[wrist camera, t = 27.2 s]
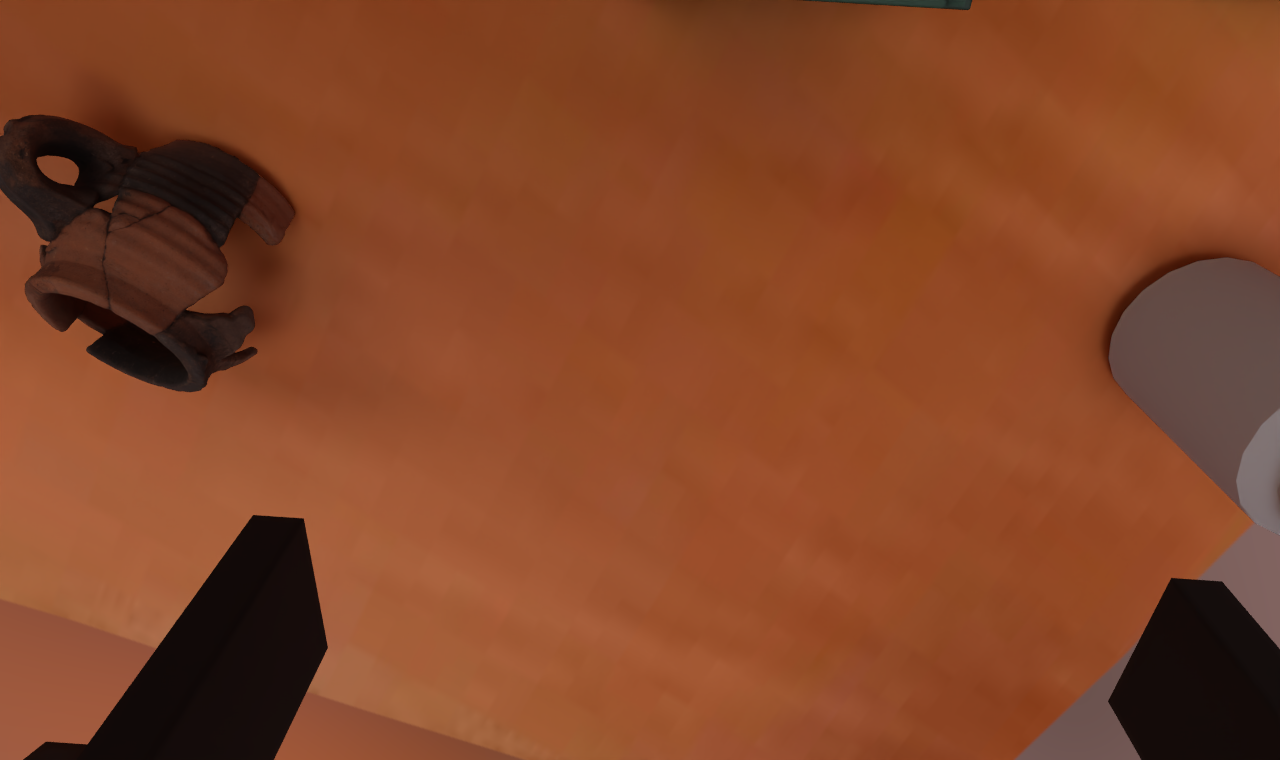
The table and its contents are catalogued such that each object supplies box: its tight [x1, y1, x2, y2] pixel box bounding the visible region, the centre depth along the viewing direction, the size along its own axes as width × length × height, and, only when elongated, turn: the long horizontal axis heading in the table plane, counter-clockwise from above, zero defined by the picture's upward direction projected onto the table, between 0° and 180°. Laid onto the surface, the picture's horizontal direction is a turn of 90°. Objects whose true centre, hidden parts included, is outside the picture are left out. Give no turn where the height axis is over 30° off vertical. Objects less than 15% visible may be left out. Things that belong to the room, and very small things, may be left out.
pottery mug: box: [0, 115, 295, 392], centre depth 33 cm, size 12×10×8 cm
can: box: [1109, 257, 1280, 535], centre depth 31 cm, size 8×8×12 cm
